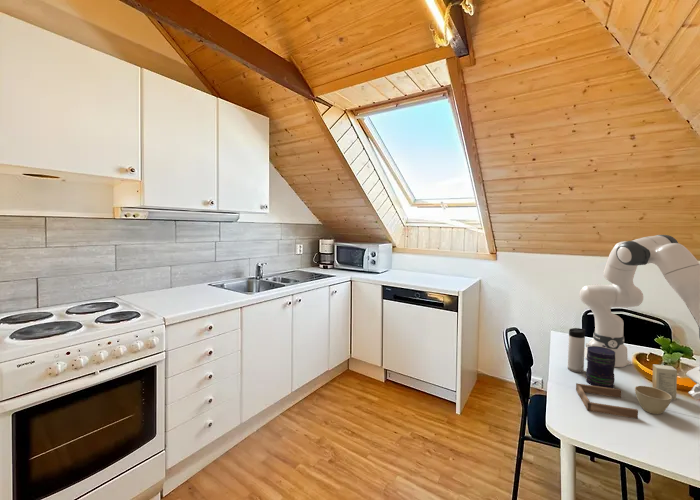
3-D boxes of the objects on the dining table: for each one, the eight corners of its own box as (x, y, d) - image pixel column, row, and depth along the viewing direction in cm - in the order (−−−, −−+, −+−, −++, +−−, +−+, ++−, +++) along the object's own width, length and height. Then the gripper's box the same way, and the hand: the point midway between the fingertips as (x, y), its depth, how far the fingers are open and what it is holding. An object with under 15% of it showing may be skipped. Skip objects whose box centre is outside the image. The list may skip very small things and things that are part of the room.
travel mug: (587, 373, 152) (588, 331, 150) (571, 372, 153) (572, 330, 151) (580, 367, 158) (582, 327, 156) (565, 366, 159) (566, 326, 158)
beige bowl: (674, 421, 114) (675, 402, 114) (637, 413, 120) (637, 394, 119) (666, 407, 123) (667, 389, 122) (631, 400, 128) (632, 383, 128)
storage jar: (582, 376, 148) (584, 338, 147) (608, 379, 145) (610, 340, 144) (590, 387, 139) (592, 346, 138) (618, 390, 136) (620, 348, 134)
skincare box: (671, 395, 132) (673, 365, 131) (676, 400, 128) (678, 370, 127) (650, 392, 134) (652, 363, 133) (655, 397, 130) (656, 367, 129)
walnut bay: (575, 390, 137) (576, 383, 137) (620, 396, 131) (620, 389, 131) (587, 410, 122) (587, 402, 122) (637, 418, 117) (638, 410, 116)
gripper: (703, 355, 122) (668, 376, 127) (744, 379, 104) (701, 403, 108) (718, 368, 121) (683, 389, 125) (762, 395, 102) (719, 419, 106)
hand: (691, 396), depth 116 cm, fingers closed
